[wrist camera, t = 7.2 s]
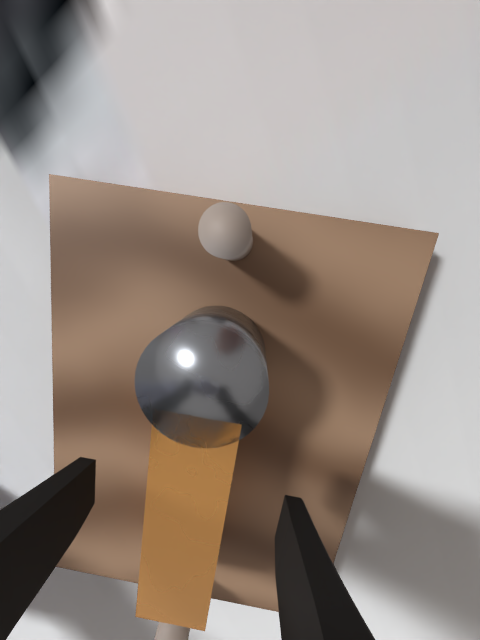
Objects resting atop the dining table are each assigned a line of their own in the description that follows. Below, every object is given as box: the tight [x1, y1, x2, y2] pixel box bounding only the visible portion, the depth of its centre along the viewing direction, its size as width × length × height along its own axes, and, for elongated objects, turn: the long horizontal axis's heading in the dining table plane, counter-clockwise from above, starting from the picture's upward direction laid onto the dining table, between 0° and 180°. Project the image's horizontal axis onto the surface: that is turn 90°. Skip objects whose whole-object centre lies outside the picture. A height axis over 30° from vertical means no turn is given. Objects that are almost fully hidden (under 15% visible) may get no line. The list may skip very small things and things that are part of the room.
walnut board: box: [49, 174, 439, 640], centre depth 12 cm, size 22×16×4 cm
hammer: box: [135, 305, 269, 631], centre depth 11 cm, size 13×4×4 cm, turn 171°
